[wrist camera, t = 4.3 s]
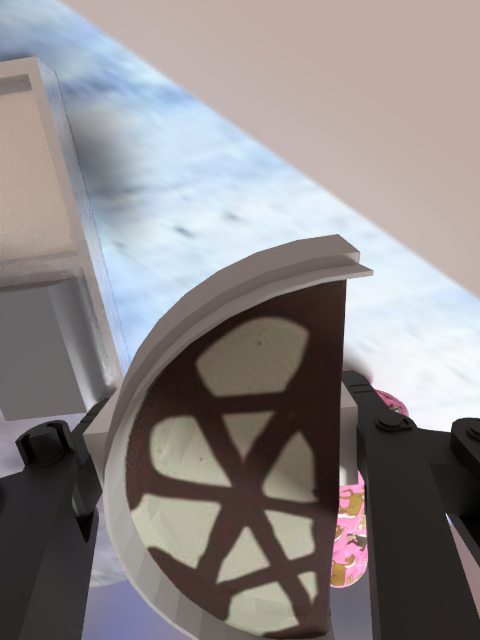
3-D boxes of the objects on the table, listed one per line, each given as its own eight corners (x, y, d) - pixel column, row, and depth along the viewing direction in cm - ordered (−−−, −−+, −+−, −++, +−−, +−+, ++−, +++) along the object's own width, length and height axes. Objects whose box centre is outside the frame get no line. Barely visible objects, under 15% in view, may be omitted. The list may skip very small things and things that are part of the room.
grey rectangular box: (39, 393, 34) (6, 420, 29) (0, 287, 30) (-46, 299, 25) (109, 385, 33) (87, 412, 28) (78, 277, 30) (46, 287, 25)
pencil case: (306, 371, 34) (327, 420, 25) (389, 377, 34) (437, 428, 25) (284, 516, 40) (294, 595, 32) (353, 521, 40) (382, 600, 32)
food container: (160, 236, 15) (4, 257, 5) (287, 229, 14) (376, 237, 5) (186, 447, 18) (126, 691, 9) (288, 443, 18) (341, 687, 9)
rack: (26, 406, 35) (9, 420, 33) (-95, 96, 26) (-132, 82, 24) (139, 394, 35) (130, 407, 32) (55, 71, 25) (34, 54, 23)
